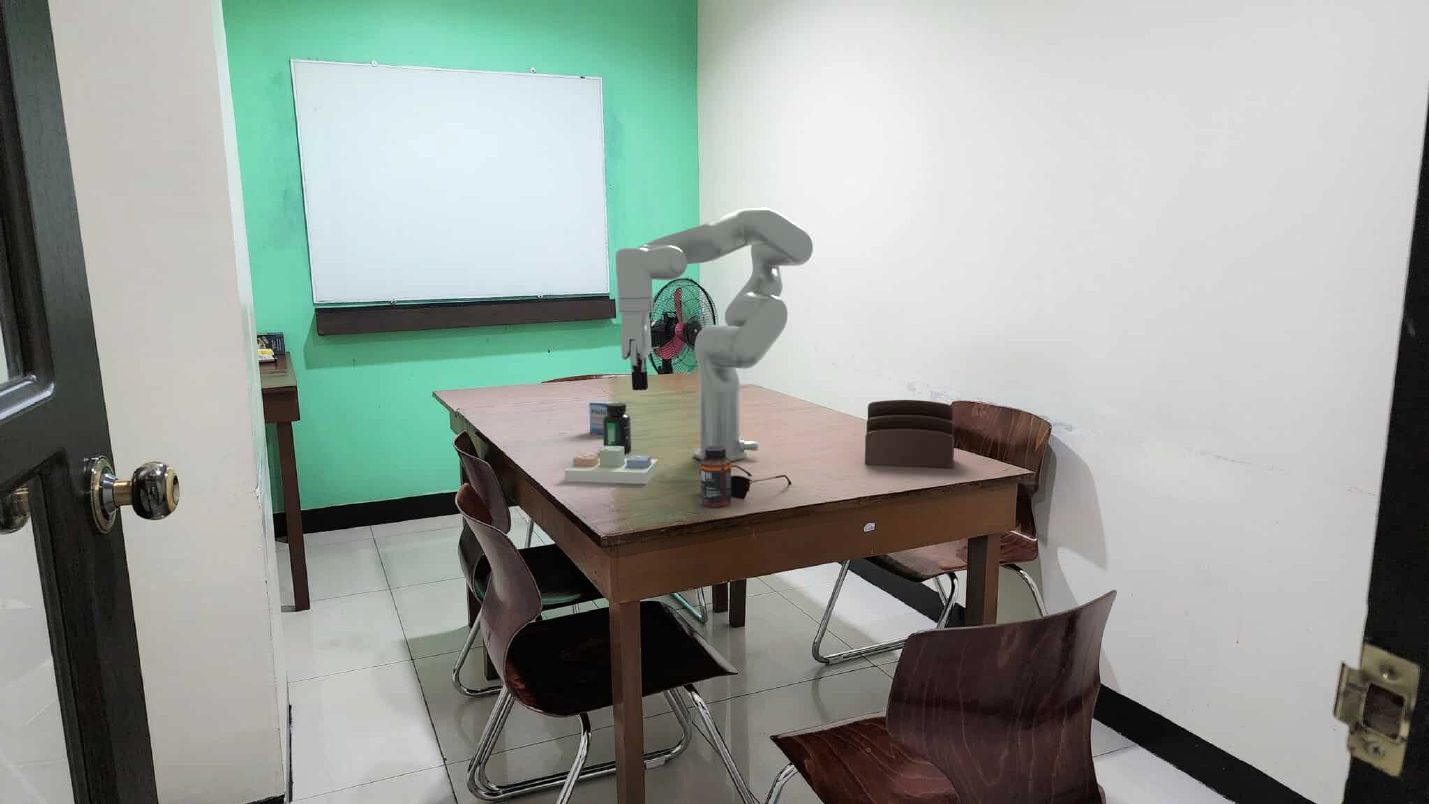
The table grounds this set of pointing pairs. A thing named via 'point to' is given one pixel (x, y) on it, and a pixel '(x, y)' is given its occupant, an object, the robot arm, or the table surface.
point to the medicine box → (598, 415)
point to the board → (611, 474)
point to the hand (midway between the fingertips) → (640, 389)
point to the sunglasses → (744, 483)
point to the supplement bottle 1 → (617, 427)
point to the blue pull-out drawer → (638, 461)
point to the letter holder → (910, 434)
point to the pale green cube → (612, 456)
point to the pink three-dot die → (585, 460)
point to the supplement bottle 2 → (715, 478)
